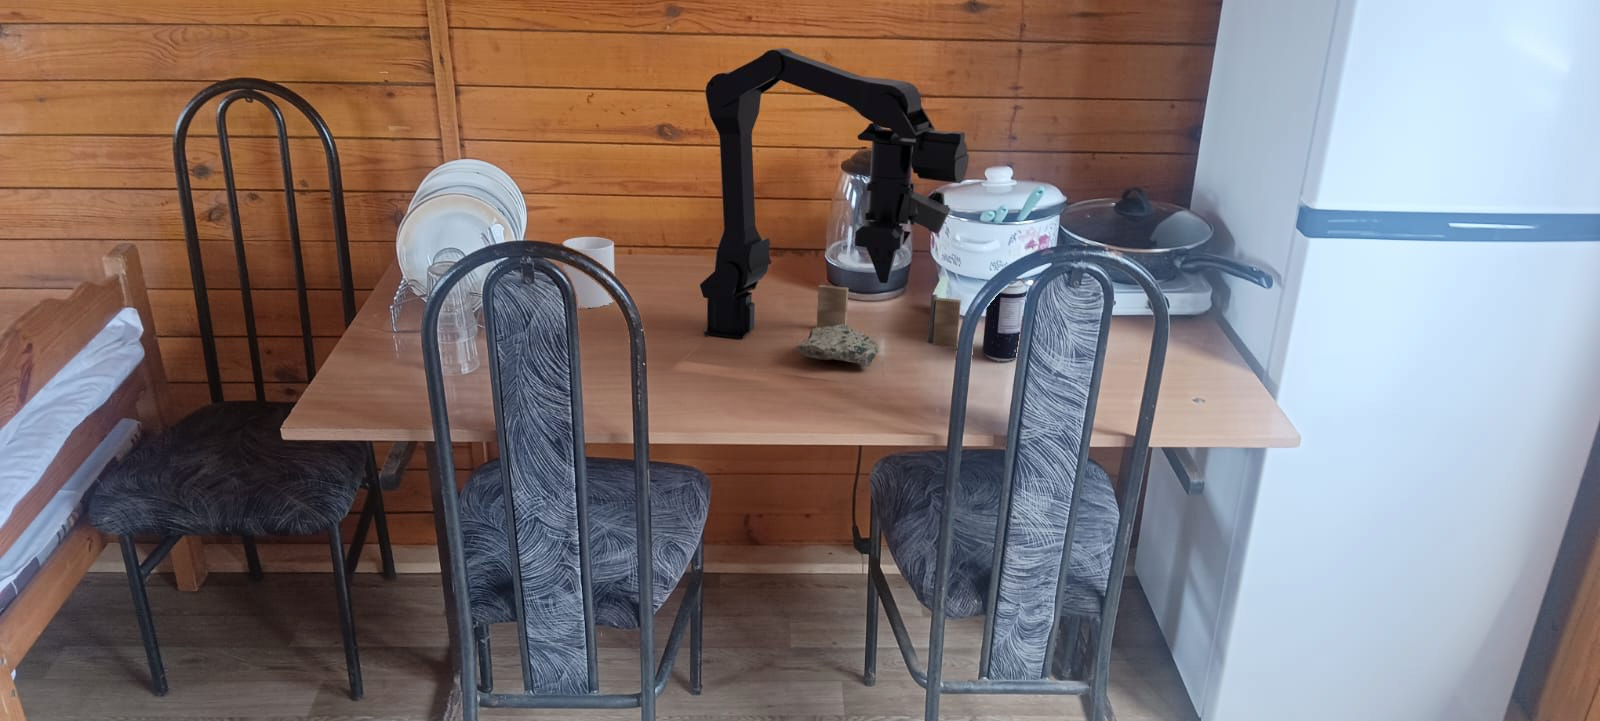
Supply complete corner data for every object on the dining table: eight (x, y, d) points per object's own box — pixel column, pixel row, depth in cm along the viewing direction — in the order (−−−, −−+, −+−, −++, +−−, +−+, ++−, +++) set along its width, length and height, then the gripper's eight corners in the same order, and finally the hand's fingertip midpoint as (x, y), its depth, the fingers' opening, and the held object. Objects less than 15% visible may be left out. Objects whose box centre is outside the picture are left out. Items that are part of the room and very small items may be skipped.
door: (938, 316, 189) (941, 275, 187) (944, 317, 189) (948, 276, 187) (928, 339, 178) (931, 296, 176) (934, 340, 178) (938, 297, 176)
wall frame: (816, 332, 181) (818, 283, 178) (818, 330, 182) (820, 281, 179) (955, 349, 176) (960, 299, 173) (956, 346, 177) (961, 297, 174)
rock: (858, 374, 162) (859, 345, 160) (789, 362, 167) (789, 334, 165) (889, 356, 170) (890, 328, 169) (822, 345, 176) (823, 318, 174)
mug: (580, 288, 199) (579, 230, 196) (627, 292, 198) (626, 233, 195) (557, 308, 188) (555, 247, 184) (606, 312, 187) (605, 251, 183)
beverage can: (1022, 354, 175) (1030, 278, 171) (1016, 366, 170) (1024, 288, 166) (985, 349, 176) (992, 273, 172) (978, 360, 171) (985, 283, 167)
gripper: (941, 192, 150) (932, 306, 156) (955, 167, 168) (946, 271, 173) (857, 185, 153) (851, 298, 158) (879, 161, 170) (873, 264, 175)
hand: (883, 282), depth 166 cm, fingers closed
